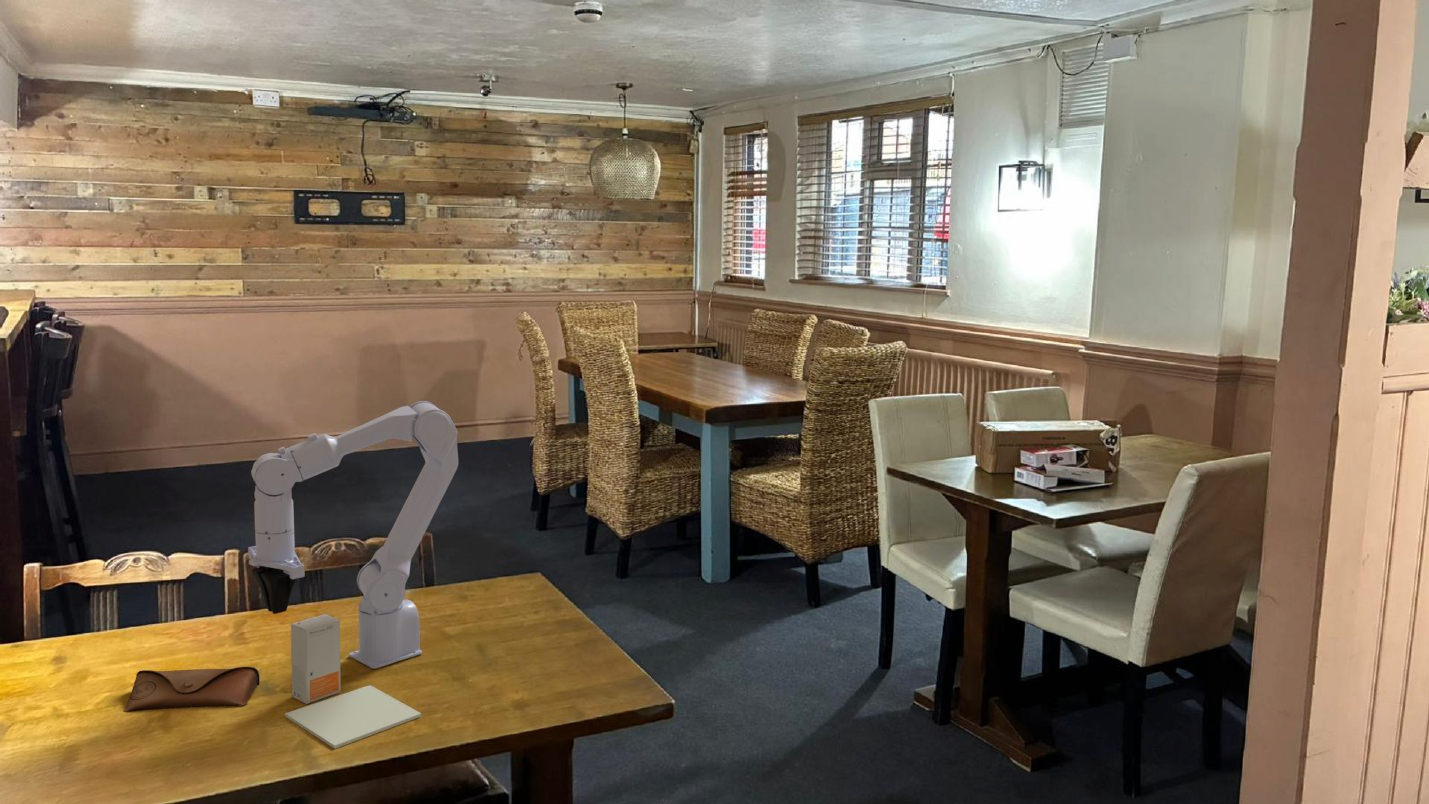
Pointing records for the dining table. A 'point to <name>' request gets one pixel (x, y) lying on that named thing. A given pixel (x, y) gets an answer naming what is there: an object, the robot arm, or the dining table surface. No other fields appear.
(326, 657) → the skincare box
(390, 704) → the mat
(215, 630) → the dining table surface
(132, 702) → the sunglasses case
